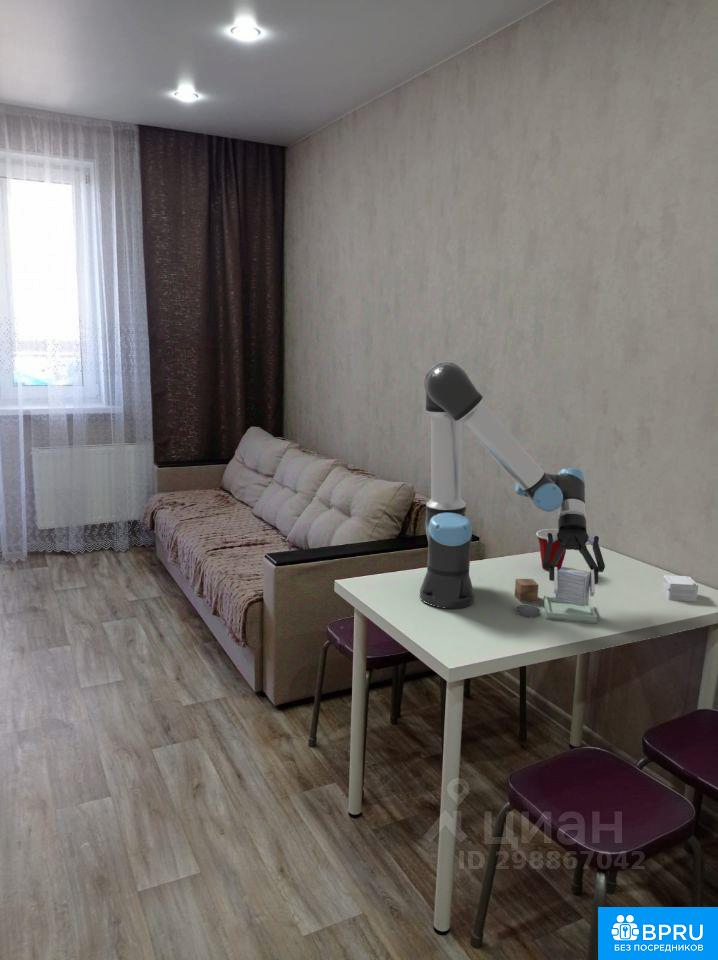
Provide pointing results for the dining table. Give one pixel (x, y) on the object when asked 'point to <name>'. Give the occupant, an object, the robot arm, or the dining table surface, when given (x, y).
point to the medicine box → (573, 586)
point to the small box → (680, 588)
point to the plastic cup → (555, 546)
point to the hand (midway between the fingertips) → (574, 592)
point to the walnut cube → (526, 590)
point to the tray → (569, 611)
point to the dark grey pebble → (528, 610)
